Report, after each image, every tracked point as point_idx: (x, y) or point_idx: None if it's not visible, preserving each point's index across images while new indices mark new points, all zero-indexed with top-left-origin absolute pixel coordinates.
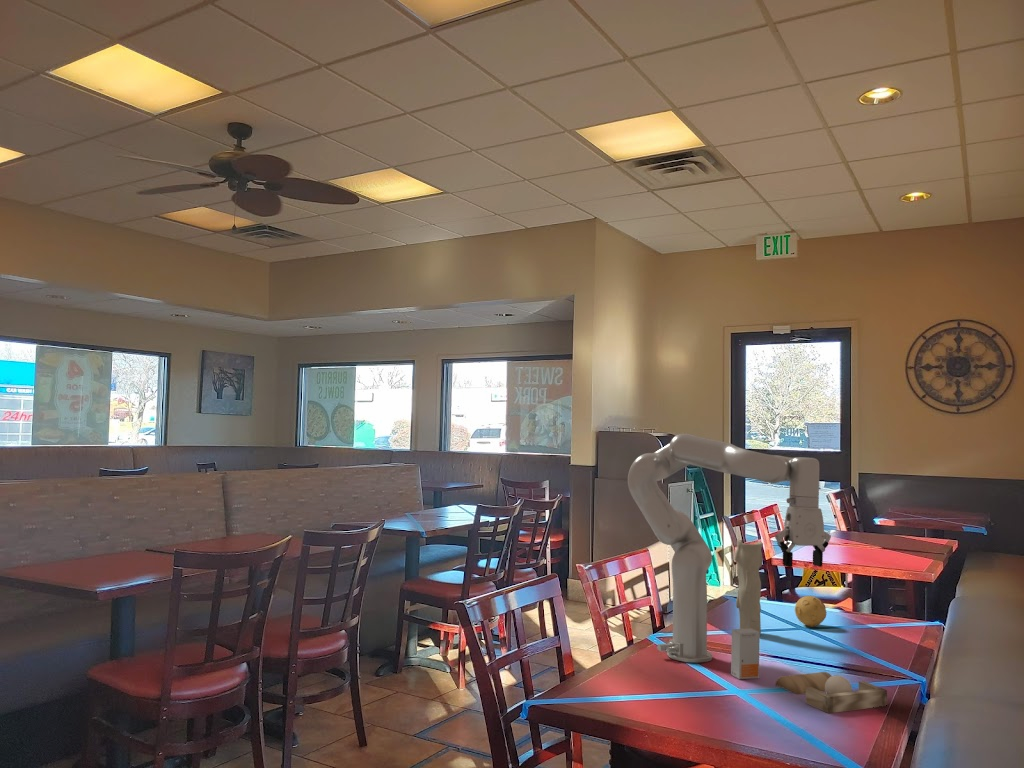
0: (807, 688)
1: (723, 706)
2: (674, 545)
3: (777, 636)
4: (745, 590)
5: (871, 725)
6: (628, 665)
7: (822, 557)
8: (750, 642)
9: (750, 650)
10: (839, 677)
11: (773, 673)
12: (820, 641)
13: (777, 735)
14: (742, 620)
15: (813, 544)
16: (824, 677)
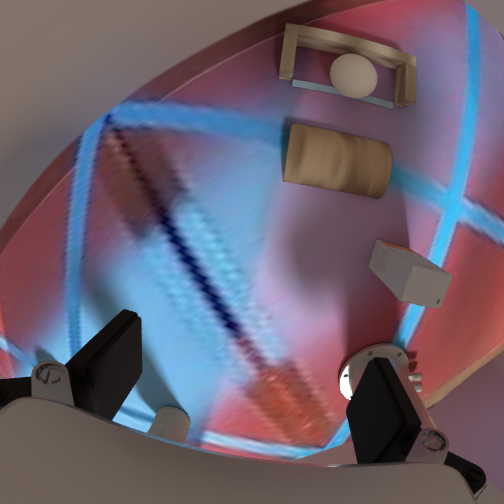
0: (415, 99)
1: (499, 171)
2: None
3: (139, 391)
4: None
5: (380, 11)
6: (464, 360)
7: (94, 337)
8: (423, 262)
9: (415, 257)
10: (363, 64)
11: (327, 250)
12: None
13: (497, 74)
14: (184, 435)
15: (180, 447)
16: (311, 138)
